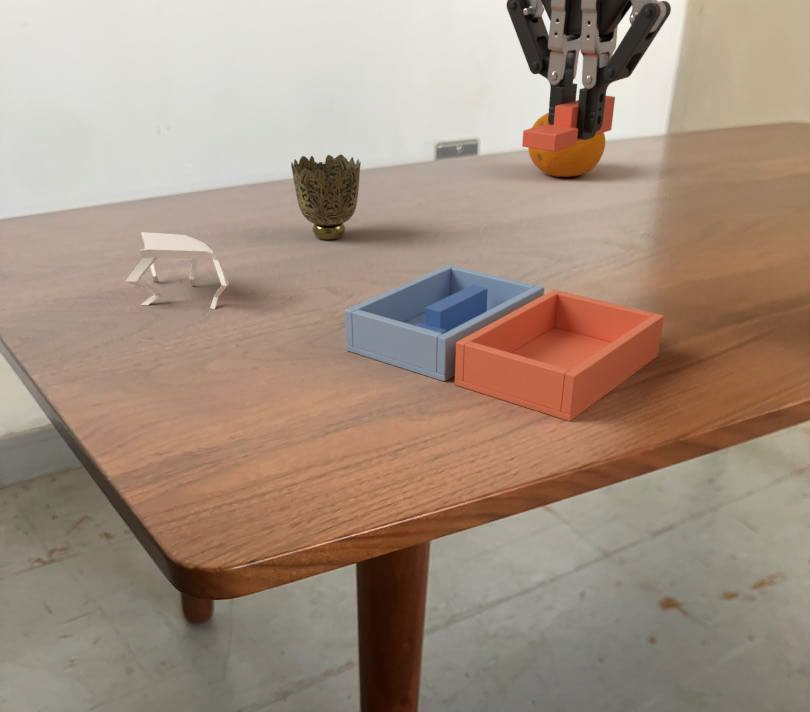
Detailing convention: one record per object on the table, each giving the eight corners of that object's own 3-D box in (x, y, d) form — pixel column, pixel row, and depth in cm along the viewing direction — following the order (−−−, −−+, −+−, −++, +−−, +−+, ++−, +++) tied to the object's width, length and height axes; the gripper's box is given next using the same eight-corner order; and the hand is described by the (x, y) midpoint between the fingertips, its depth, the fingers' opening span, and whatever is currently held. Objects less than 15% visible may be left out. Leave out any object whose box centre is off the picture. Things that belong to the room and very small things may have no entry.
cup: (358, 225, 106) (356, 152, 102) (367, 244, 100) (365, 167, 96) (293, 229, 105) (288, 154, 101) (298, 248, 99) (293, 170, 95)
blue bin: (541, 325, 81) (544, 286, 79) (444, 381, 71) (445, 339, 69) (447, 301, 86) (448, 264, 84) (345, 350, 76) (344, 309, 74)
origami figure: (103, 303, 85) (93, 250, 83) (156, 275, 92) (148, 225, 89) (214, 321, 82) (207, 266, 79) (261, 291, 88) (256, 239, 85)
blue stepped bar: (465, 311, 82) (466, 283, 81) (493, 318, 81) (494, 290, 79) (393, 347, 75) (392, 317, 74) (422, 356, 74) (422, 325, 72)
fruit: (603, 167, 130) (610, 105, 126) (599, 184, 122) (606, 119, 117) (530, 163, 132) (534, 102, 128) (520, 180, 124) (525, 116, 119)
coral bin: (657, 356, 75) (664, 315, 73) (569, 421, 66) (575, 376, 64) (550, 328, 80) (554, 289, 78) (454, 384, 71) (455, 341, 69)
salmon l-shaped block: (587, 127, 79) (591, 93, 77) (618, 131, 77) (623, 97, 76) (521, 146, 72) (524, 110, 71) (554, 151, 70) (557, 115, 69)
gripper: (712, -128, 64) (671, 139, 74) (543, -124, 71) (527, 120, 81) (664, -131, 59) (627, 156, 69) (488, -126, 66) (478, 133, 76)
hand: (573, 135), depth 75 cm, fingers closed on salmon l-shaped block, 1 cm apart
